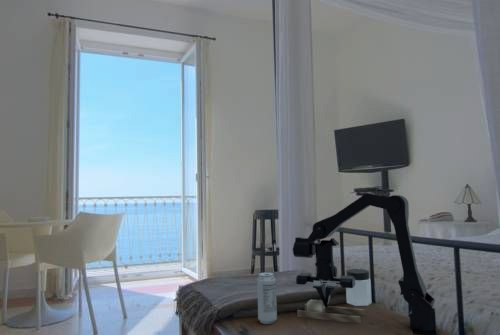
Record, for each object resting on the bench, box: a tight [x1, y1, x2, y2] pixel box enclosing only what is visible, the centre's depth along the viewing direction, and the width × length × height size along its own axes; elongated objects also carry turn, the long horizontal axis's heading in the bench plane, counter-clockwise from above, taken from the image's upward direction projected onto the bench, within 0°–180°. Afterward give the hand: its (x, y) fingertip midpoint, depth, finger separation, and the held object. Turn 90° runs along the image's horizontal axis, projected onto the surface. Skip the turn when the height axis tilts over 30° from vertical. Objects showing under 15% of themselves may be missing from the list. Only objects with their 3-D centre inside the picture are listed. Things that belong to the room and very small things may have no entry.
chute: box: [296, 303, 365, 324], centre depth 126 cm, size 20×9×2 cm, turn 65°
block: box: [306, 299, 327, 313], centre depth 128 cm, size 5×5×4 cm
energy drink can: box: [256, 272, 278, 325], centre depth 124 cm, size 6×6×15 cm
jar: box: [345, 268, 372, 307], centre depth 141 cm, size 9×8×12 cm
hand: (326, 306), depth 127 cm, fingers closed
